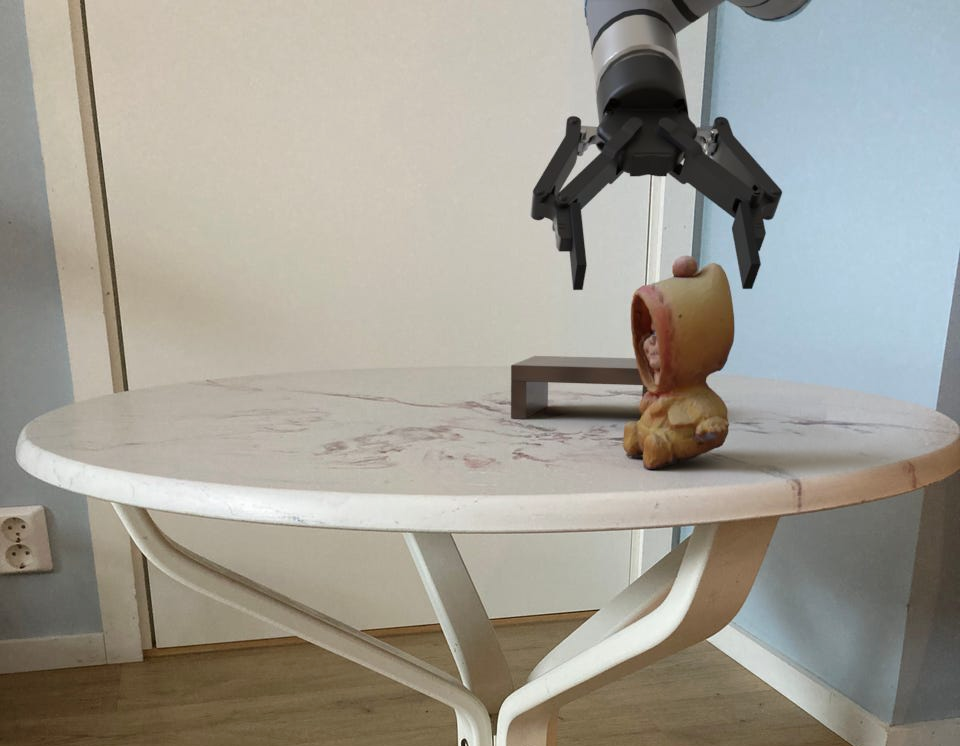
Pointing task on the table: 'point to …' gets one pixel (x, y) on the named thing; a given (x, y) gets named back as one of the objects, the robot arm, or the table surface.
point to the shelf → (564, 378)
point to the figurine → (680, 363)
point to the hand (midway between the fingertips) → (666, 277)
